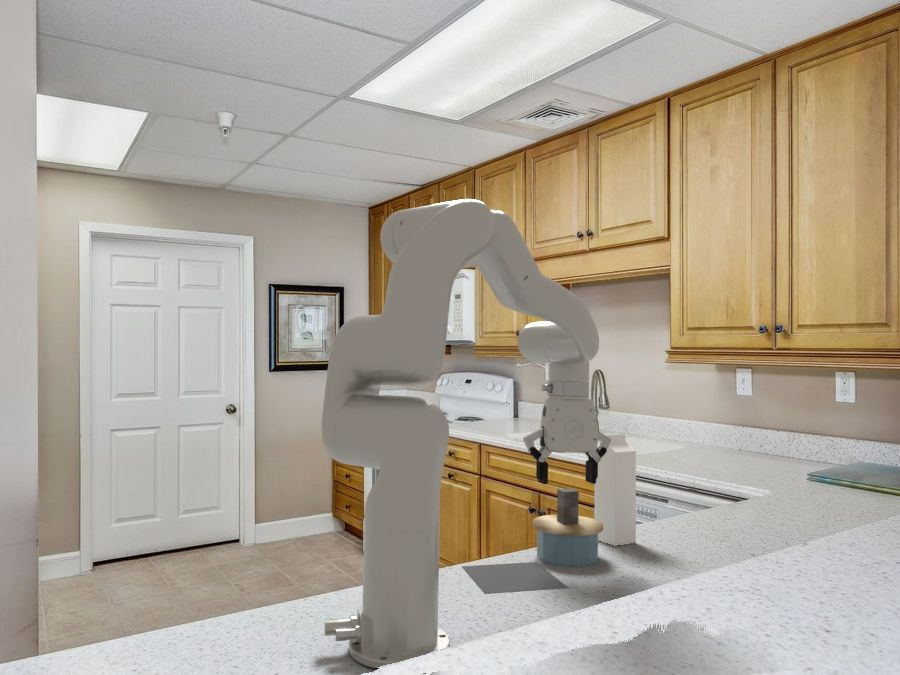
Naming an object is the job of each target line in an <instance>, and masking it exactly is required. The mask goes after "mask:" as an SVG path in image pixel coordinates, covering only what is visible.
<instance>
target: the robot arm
mask: <svg viewBox="0 0 900 675" xmlns="http://www.w3.org/2000/svg"><path fill="white" fill-rule="evenodd" d="M379 238H380V245H381V248H382V251H383V252H384V254H385V256H386V257H387V259H388V260H389V261H390V262H391V263H392V266H391V268H390V272H389V276H388V281H387V286H386V287H387V288H386V293H385V300H384V305H383V309H382V312H381V313H380V314H369V315H368V314H367V315H360V316H355V317H353V318H351V319H348V320H347V321H346V322H344V324H342V326H340V328H339V329H338V330H337V332H336V333H335V336H334V338H333V340H332V343H331V346H330V352H329V357H328V363H327V364H328V366H327V371H326V373H327V374H326V381H325V390H324V394H323V405H322V406H323V407H322V412H321V413H322V414H321V430H320V431H321V439H322V443H323V447H324V449H325V451H326V453H327V454H328V455H329V457H331V459H332V460H334V461H336V462H338V463H339V464H344V465H349V466H355V467H363V468H367V469H375V470H379V473H378V476H377V477H376V479H375V481H374V483H373V485H372V486H371V489H370V491H369V493H368V494H367V497H366V501H365V506H364V512H363V513H364V514H363V516H364V517H363V524H364V525H363V526H364V528H363V530H364V532H363V533H364V534H363V570H362V571H363V572H362V574H363V575H362V576H363V577H362V581H363V582H362V606H358V607H357V614H351V615H350V616H349V618H340V617H339V618H338V617H337V618H325V619H324V636H325V637H329V636H335V641H336V642H344V641H345V642H346V641H348V652H349V655H350V656H351V657H352V659H353V660H355V661H356V662H358V663H360V664H361V665H364V666H366V667H368V668H372V669H375V668H377V667H380V666H383V665H387V664H392V663H397V662H400V661H404V660H407V659H410V658H414V657H418V656H421V655H425V654H427V653H430V652H433V651H436V650H440V649H443V648H447V647H450V645H451V640H450V637H449V635H448V634H447V633H446V632H445V631H444V630H443V629H442V628H439V579H440V578H439V576H440V573H439V572H440V570H439V569H440V515H441V514H440V511H441V510H440V509H441V508H440V506H441V488H442V478H443V471H444V466H445V461H446V457H447V456H446V455H447V451H448V447H449V440H450V427H449V426H450V425H449V422H448V419H447V416H446V414H445V413H444V411H443V410H442V409H441V408H440V407H439V406H438V405H437V404H435V403H433V402H432V401H430V400H428V399H423V398H421V397H416V396H408V395H407V396H406V395H389V394H388V395H387V394H386V395H385V394H383V395H380V390H381V386H396V387H397V386H401V387H403V386H404V387H405V386H406V387H418V386H425V385H429V384H431V383H433V382H435V381H436V380H437V379H438V378H439V376H440V375H441V372H442V369H443V366H444V361H445V355H446V354H445V353H446V346H447V345H446V344H447V336H448V325H449V324H448V323H449V315H450V314H449V313H450V306H451V298H452V290H453V285H454V282H455V280H456V279H457V276H458V275H459V273H460V271H461V270H462V269H463V268H468V267H473V268H474V267H475V268H477V269H478V271H479V272H480V274H481V276H482V277H483V279H484V280H485V281H486V284H487V285H488V287H489V288H490V290H491V292H492V293H493V295H494V297H495V299H496V300H497V301H498V303H499V304H500V305H501V306H503V307H505V308H506V309H509V310H511V311H514V312H517V313H519V314H523V315H525V316H526V315H527V316H530V317H534V318H538V319H541V320H544V321H534V322H530V323H528V324H526V325H524V326H523V327H522V329H521V330H520V332H519V333H518V336H517V337H518V338H517V346H518V347H517V348H518V351H519V352H520V354H521V355H522V357H523V358H525V360H528V361H529V362H532V363H537V364H538V363H539V364H540V363H541V364H548V380H547V383H546V384H544V383H543V384H542V385H541V390H542V392H545V393H547V394H546V395H548V397H545V398H544V402H543V405H542V406H543V407H542V411H541V419H540V428H538V429H537V430H535V431H533V432H531V433H529V434H527V435H525V436H524V437H523V438H522V441H523V443H524V445H525V447H526V448H527V452H528V453H529V454H530V455H531V457H532V458H533V459H534V460H535V461H536V462H535V463H536V468H535V469H536V470H535V471H536V474H535V476H536V479H537V482H538V483H539V484H542V485H547V484H548V483H549V463H548V462H547V460H548V458H549V457H550V455H552V453H557V454H558V453H559V454H561V453H568V454H570V453H573V454H574V453H578V454H583V453H584V454H585V456H586V457H587V458H588V459H587V460H586V461H585V482H586V483H589V484H592V485H595V484H596V479H597V477H598V462H600V460H601V458H602V457H603V456H604V454H605V453H606V452H607V448H608V447H609V445H610V443H611V439H610V438H609V437H607V436H606V435H607V434H604V433H602V432H600V431H598V422H597V413H596V407H595V403H594V399H592V398H590V361H592V360H593V359H594V358H595V357H596V355H597V354H598V351H599V350H600V349H599V348H600V337H599V332H598V329H597V327H596V326H597V325H596V323H595V321H594V318H593V316H592V315H591V313H590V310H589V309H588V308H587V306H586V304H585V303H584V301H583V300H582V299H581V298H580V297H578V295H576V294H575V293H573V292H572V291H570V290H569V289H568V288H566V287H564V286H563V285H561V283H559V282H557V281H555V280H553V279H551V278H549V277H548V276H545V275H544V274H543V273H542V272H541V270H540V268H539V266H538V263H537V262H536V261H535V259H534V257H533V255H532V253H531V250H530V249H529V248H528V245H527V243H526V241H525V239H524V237H523V235H522V234H521V232H520V230H519V228H518V227H517V224H516V222H515V221H514V220H513V218H512V217H511V216H510V215H509V214H507V213H506V212H504V211H502V210H494V209H491V208H490V207H489V206H488V205H487V204H486V203H484V202H483V201H481V200H477V199H473V198H465V199H457V200H451V201H445V202H440V203H439V202H438V203H433V204H428V205H425V206H424V205H423V206H419V207H418V206H417V207H411V208H406V209H401V210H398V211H394V212H393V213H392V214H389V216H388V217H387V218H386V219H385V220H384V222H383V224H382V226H381V229H380V237H379ZM538 439H539V446H540V448H539V449H537V447H536V445H535V443H534V442H535V441H537V440H538ZM599 441H600V443H599V445H598V442H599ZM597 447H598V448H597Z"/></svg>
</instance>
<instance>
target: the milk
mask: <svg viewBox="0 0 900 675" xmlns="http://www.w3.org/2000/svg"><path fill="white" fill-rule="evenodd" d="M605 435H606V436H607V437H609V438H610V439H611V443H610V445H609V447H608V448H607V452H606V453H605V454H604V456H603V457H602V458H601V460H600V462H598V477H597V479H596V484H594V507H593V508H594V514H593V515H594V516H593V517H594V518H593V519H596V520H598V521H600V522H602V523H603V531H602V532H600V533H598V542H599V541H601V542H600V543H603V542H604V543H603V544H606V543H608V544H607V545H609V544H611V545H610V546H612V545H615V546H616V547H618V546H617V545H621V546H624V545H623V544H627V545H632V544H636V542H637V540H636V539H637V538H636V534H637V530H636V529H637V527H636V526H637V525H636V524H637V521H636V520H637V519H636V517H637V510H636V509H637V506H636V505H637V499H636V498H637V495H636V494H637V481H636V480H637V451H636V450H635V449H634V448H633V447H632V446H631V445H630V444H629V443H628V442H627V441H626V434H625V433H619V434H605ZM598 447H599V446H597V448H598ZM631 543H632V544H631ZM615 546H614V547H615Z"/></svg>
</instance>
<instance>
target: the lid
mask: <svg viewBox="0 0 900 675" xmlns="http://www.w3.org/2000/svg"><path fill="white" fill-rule="evenodd" d="M556 489H557V490H556V492H557V493H556V496H557V497H556V514H546V515H541V516H537V517H535V518H533V519H532V528H534V529H535V530H536V531H537V530H539V531H542V532H546V533H551V534H557V535H567V536H585V535H593V534H597V533H600V532H602V531H603V523H602V522H600V521H598V520H596V519H594V518H592V517H587V516H582V515H579V507H580V506H579V504H580V502H579V497H580V496H579V494H580V493H579V490H576V489H574V488H556Z"/></svg>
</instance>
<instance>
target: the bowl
mask: <svg viewBox="0 0 900 675" xmlns="http://www.w3.org/2000/svg"><path fill="white" fill-rule="evenodd" d="M536 531H537V535H536V541H537V542H536V557H537V558H539V559H540V560H541V561H543V562H545V563H550V564H552V565H557V566H566V567H567V566H568V567H580V566H581V567H582V566H583V567H584V566H590V565H593V564H596V563H598V560H599V541H598V533H597V534H593V535H585V536H567V535H557V534H551V533H546V532H542V531H539V530H537V529H536Z"/></svg>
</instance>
